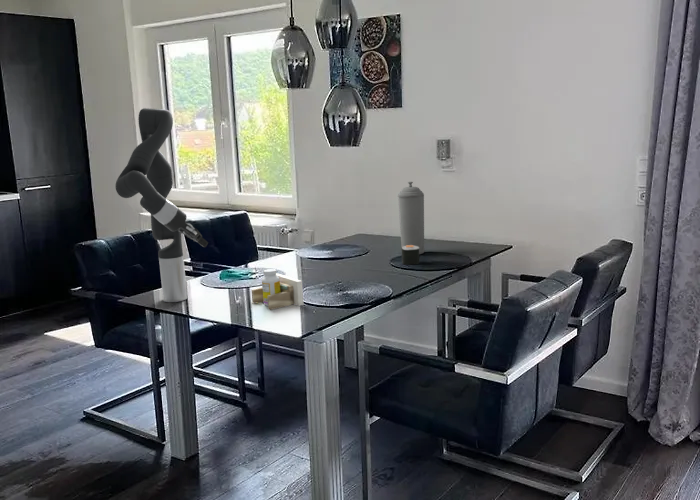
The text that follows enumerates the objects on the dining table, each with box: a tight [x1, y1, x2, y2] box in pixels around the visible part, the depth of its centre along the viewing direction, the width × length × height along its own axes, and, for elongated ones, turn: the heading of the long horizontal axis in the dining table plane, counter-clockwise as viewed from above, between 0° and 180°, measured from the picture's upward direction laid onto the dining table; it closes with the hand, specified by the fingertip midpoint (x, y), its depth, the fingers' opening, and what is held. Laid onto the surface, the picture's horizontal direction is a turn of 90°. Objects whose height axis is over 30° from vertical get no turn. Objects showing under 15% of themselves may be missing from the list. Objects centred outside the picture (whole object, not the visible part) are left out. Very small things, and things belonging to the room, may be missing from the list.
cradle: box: [250, 282, 295, 311], centre depth 252 cm, size 14×10×7 cm
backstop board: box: [276, 273, 304, 306], centre depth 255 cm, size 20×2×9 cm, turn 35°
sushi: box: [401, 245, 420, 266], centre depth 309 cm, size 8×8×8 cm
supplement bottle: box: [261, 268, 281, 307], centre depth 251 cm, size 7×7×13 cm
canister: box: [397, 181, 425, 255], centre depth 328 cm, size 13×13×35 cm
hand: (206, 245), depth 239 cm, fingers closed
